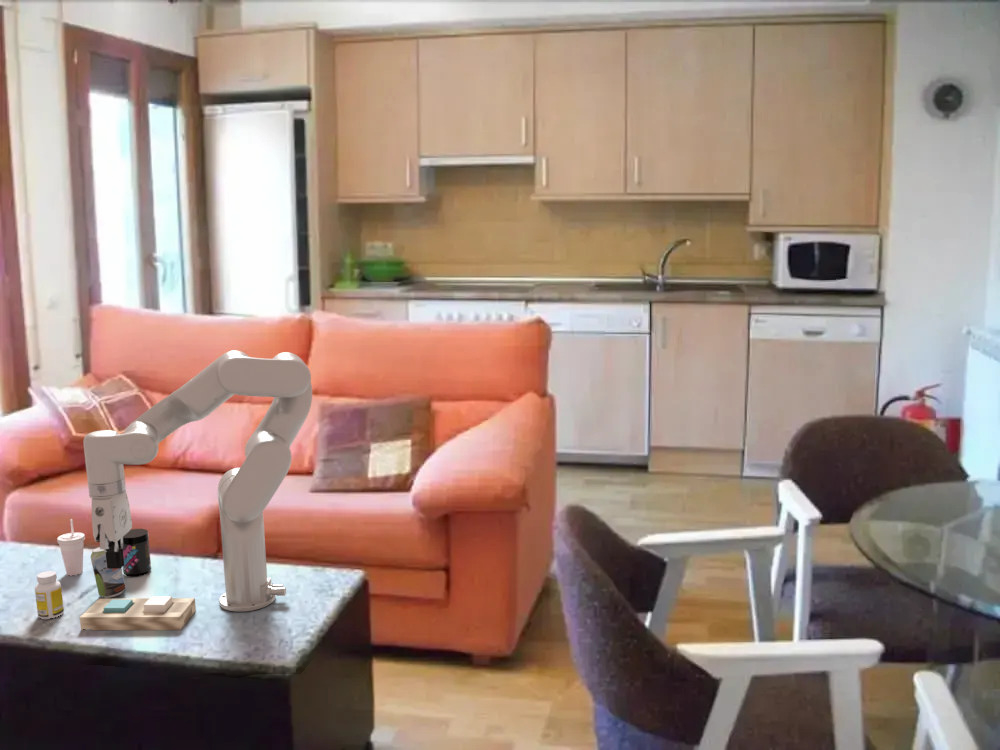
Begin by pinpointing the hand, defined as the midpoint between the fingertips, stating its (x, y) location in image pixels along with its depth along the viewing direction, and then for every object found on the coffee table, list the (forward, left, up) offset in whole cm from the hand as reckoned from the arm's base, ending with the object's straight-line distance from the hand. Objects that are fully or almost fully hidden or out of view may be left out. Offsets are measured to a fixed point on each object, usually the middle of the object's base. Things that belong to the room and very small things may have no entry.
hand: (115, 567), depth 219 cm
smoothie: (+23, -28, -13) cm, 38 cm away
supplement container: (+7, -28, -13) cm, 32 cm away
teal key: (0, 0, -12) cm, 12 cm away
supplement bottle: (+17, -3, -13) cm, 22 cm away
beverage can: (+8, -14, -13) cm, 21 cm away
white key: (-9, 0, -11) cm, 14 cm away
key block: (-4, 0, -13) cm, 13 cm away
